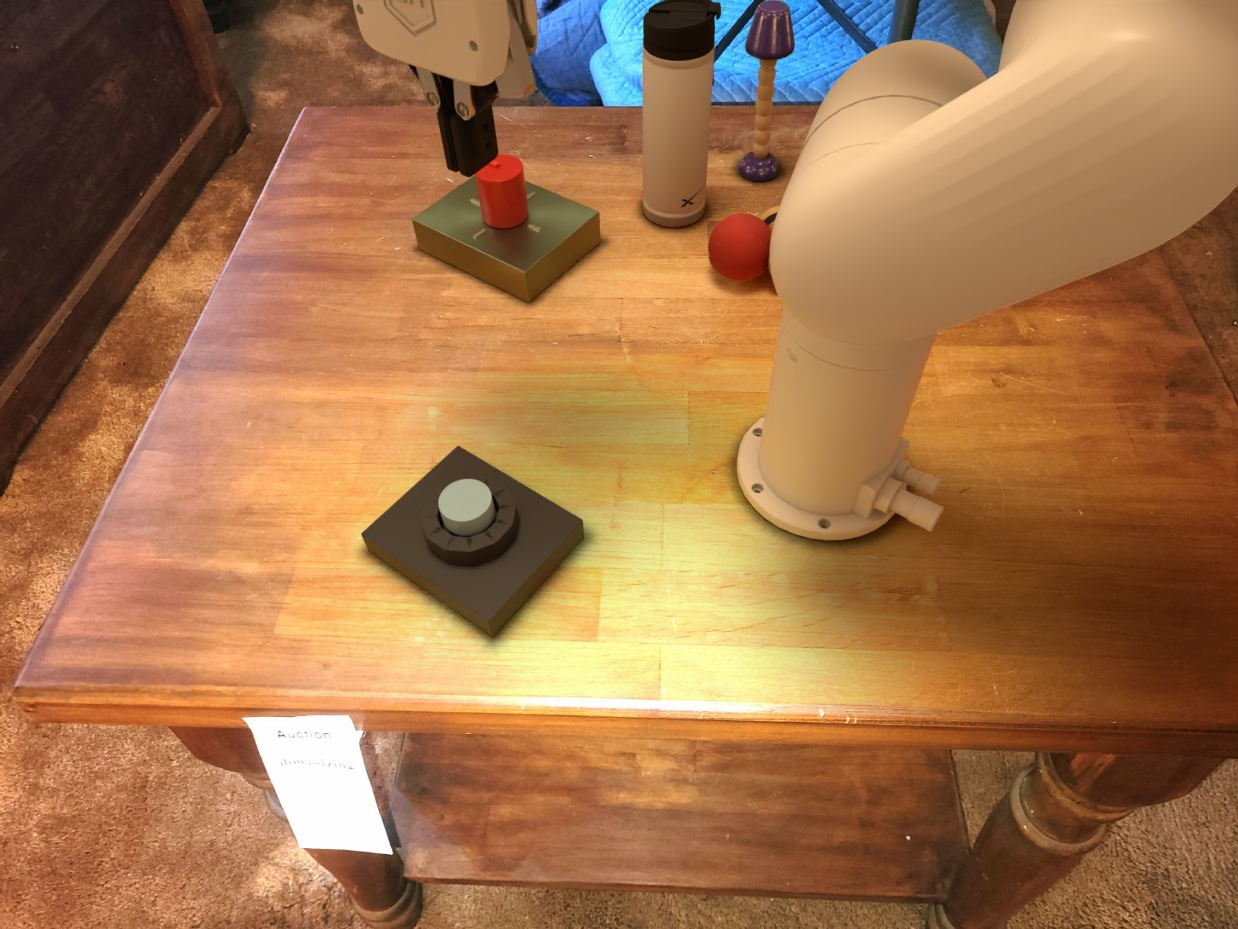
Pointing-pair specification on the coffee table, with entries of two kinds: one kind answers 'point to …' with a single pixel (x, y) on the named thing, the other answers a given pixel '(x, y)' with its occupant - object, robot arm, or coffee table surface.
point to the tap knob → (502, 192)
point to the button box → (475, 542)
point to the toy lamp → (766, 81)
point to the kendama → (742, 245)
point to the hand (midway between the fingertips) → (473, 163)
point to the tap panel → (509, 238)
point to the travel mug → (677, 108)
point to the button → (466, 507)
